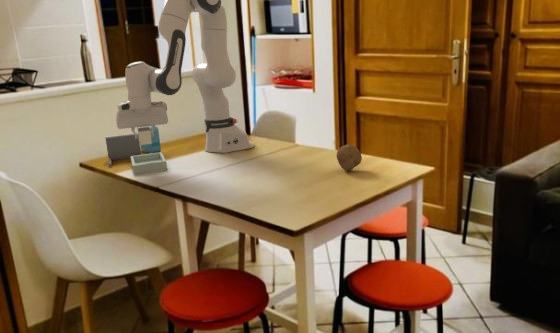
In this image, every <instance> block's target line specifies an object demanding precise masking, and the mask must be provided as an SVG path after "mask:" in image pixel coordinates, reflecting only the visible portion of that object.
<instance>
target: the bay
mask: <svg viewBox="0 0 560 333" xmlns="http://www.w3.org/2000/svg"><path fill="white" fill-rule="evenodd" d="M105 144H106V150H107V158H108V166H109V168H112V167H113V164H112V161H114V160H115V161H116V160H125V159H131V157H130V156H137V155H142V152H141V151H142V149H141V145H140V143H139V139H138V138H135V134H134V133H133V132H132V133H125V134H115V135H107V136H105ZM124 158H125V159H124ZM111 166H112V167H111Z"/></svg>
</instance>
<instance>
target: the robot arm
mask: <svg viewBox="0 0 560 333" xmlns="http://www.w3.org/2000/svg"><path fill="white" fill-rule="evenodd" d="M191 13H199V15H200V17H201V18H200V19H201V25H200V26H201V30H200V31H201V33H200V36H201V38H200V39H201V40H200V46H201V50H202V51H203V53H204V55H205V59H206V61H205V62H200V63H198V64H196V65H195V66H194V67H193V69H192V71H191V76H192V79H193V81H194V82H195V84H196V86H197V87H198V90H199V93H200V95H201V99H202V104H203V112H204V130H205V132H206V134H205V147H204V151H205V152H208V153H219V154H226V153H231V152H236V151H241V150H242V151H243V150H248V149H252V148H254V147H255V145H254V142H252V141H251V140H249V136H248V134H247V132H246V131H245V130H243V129H242V128H240V127H239V126H237V125H236V124H237V123H238V120H237V118H233V117H231V116H230V115H231V113H230V105H229V99H228V98H227V96H226V94H225V93H224V91H223V89H225V88H229V87H231V86H232V85H234V83H235V82H236V78H237V74H236V70H235V68H234V67H233V66H232V64H231V60H230V57H229V53H228V27H227V26H228V25H227V24H228V23H227V22H228V21H227V13H226V9H225V7H224V6H223V5H222V1H221V0H165V2H164V4H163V7H162V10H161V13H160V17H159V21H158V32H159V34H160V35H161V37H162V38H163V39H164V40H165V41H166V42H167V46H168V49H167V55H166V59H165V66H164V67H163V68H157V67H155V66H151V65H150V64H147V63H145V61H140V60H139V61H135V62H131V63H129V64H128V65H126V67H125V71H124V72H125V73H124V74H125V85H126V89H127V100H125V101H122V102H120V103H118V104H117V109H118V110H117V111H116V119H115V120H116V128H117V129H119V130H123V129H130V130H131V132H132V133H134V134H135V138H139V134H138V132H136V129H135V128H137V127H143V126H152V128H153V129H152V131H151V132H150V133H151V137H152V136H154V133H153V132H154V130H155V128H156V127H157V126H160V125H167V124H168V123H169V118H168V113H167V111H168V104H167V103H166V102H164V101H161V100H160V101H152V96H151V94H152V92H153V93H158V94H163V95H166V96H173V95H175V94H177V93H178V92H179V91H180V89H181V87H182V84H183V83H182V82H183V79H182V78H183V77H182V67H183V61H184V55H185V51H186V41H187V40H186V34H187V33H186V31H187V26H188V22H189V19H190V15H191ZM155 126H156V127H155Z"/></svg>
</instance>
